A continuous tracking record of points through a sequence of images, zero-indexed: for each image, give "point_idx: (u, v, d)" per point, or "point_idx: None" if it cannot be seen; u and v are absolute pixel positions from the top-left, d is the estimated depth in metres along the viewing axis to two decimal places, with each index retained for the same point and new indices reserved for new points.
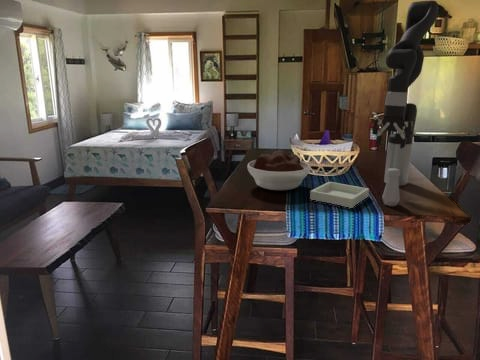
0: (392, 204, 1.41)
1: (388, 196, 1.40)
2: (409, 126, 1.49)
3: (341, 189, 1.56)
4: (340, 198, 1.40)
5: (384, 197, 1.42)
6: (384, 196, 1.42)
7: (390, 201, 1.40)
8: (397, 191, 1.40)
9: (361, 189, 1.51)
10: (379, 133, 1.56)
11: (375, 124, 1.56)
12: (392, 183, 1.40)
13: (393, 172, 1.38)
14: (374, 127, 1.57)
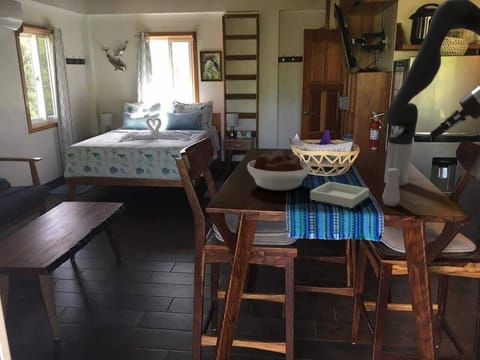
0: (392, 204, 1.41)
1: (388, 196, 1.40)
2: (464, 118, 1.29)
3: (341, 189, 1.56)
4: (340, 198, 1.40)
5: (384, 197, 1.42)
6: (384, 196, 1.42)
7: (390, 201, 1.40)
8: (397, 191, 1.40)
9: (361, 189, 1.51)
10: None
11: (456, 122, 1.20)
12: (392, 183, 1.40)
13: (393, 172, 1.38)
14: (453, 125, 1.20)
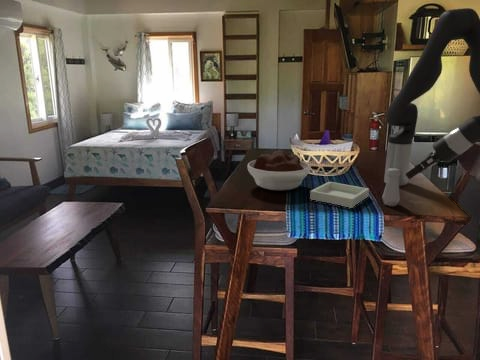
0: (392, 204, 1.41)
1: (388, 196, 1.40)
2: None
3: (341, 189, 1.56)
4: (340, 198, 1.40)
5: (384, 197, 1.42)
6: (384, 196, 1.42)
7: (390, 201, 1.40)
8: (397, 191, 1.40)
9: (361, 189, 1.51)
10: None
11: (429, 165, 1.27)
12: (392, 183, 1.40)
13: (393, 172, 1.38)
14: (426, 168, 1.28)
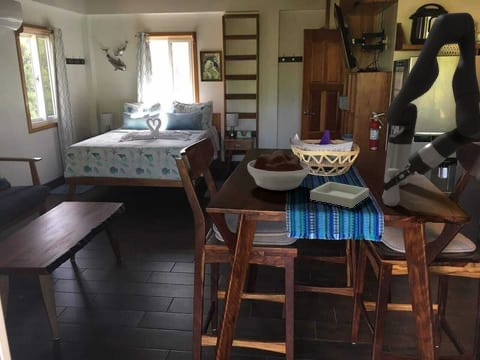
0: (392, 204, 1.41)
1: (388, 196, 1.40)
2: None
3: (341, 189, 1.56)
4: (340, 198, 1.40)
5: (384, 197, 1.42)
6: (384, 196, 1.42)
7: (390, 201, 1.40)
8: (397, 191, 1.40)
9: (361, 189, 1.51)
10: None
11: (402, 180, 1.34)
12: None
13: (393, 172, 1.38)
14: (399, 182, 1.35)
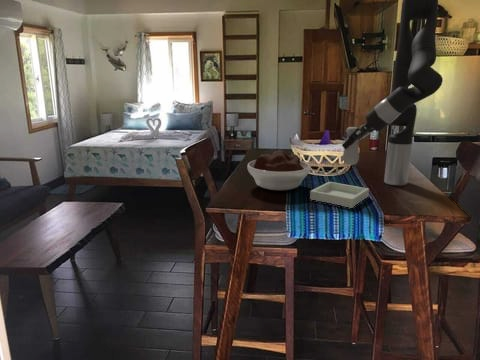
0: (351, 162, 1.42)
1: (348, 154, 1.42)
2: None
3: (341, 189, 1.56)
4: (340, 198, 1.40)
5: (344, 156, 1.43)
6: (344, 155, 1.43)
7: (349, 159, 1.42)
8: (356, 149, 1.41)
9: (361, 189, 1.51)
10: None
11: (359, 136, 1.35)
12: None
13: (352, 130, 1.40)
14: (357, 139, 1.36)
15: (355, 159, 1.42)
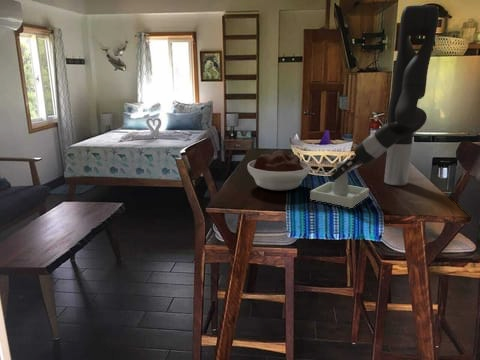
0: None
1: (338, 188, 1.46)
2: None
3: None
4: (340, 198, 1.40)
5: (334, 189, 1.48)
6: (334, 188, 1.48)
7: (339, 192, 1.46)
8: (346, 183, 1.46)
9: (361, 189, 1.51)
10: (344, 172, 1.41)
11: (349, 168, 1.38)
12: (341, 175, 1.45)
13: (342, 164, 1.44)
14: (346, 170, 1.38)
15: (345, 193, 1.46)
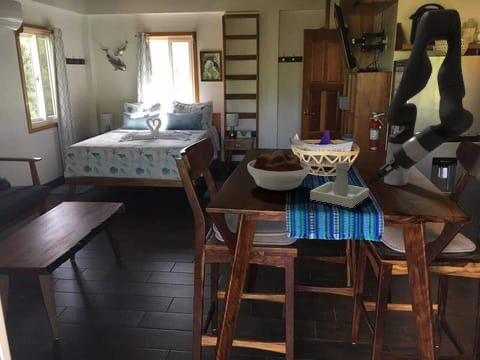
0: None
1: (338, 188, 1.46)
2: None
3: None
4: (340, 198, 1.40)
5: (334, 189, 1.48)
6: (334, 188, 1.48)
7: (339, 192, 1.46)
8: (346, 183, 1.46)
9: (361, 189, 1.51)
10: (382, 177, 1.34)
11: (388, 173, 1.30)
12: (341, 175, 1.45)
13: (342, 164, 1.44)
14: (385, 175, 1.31)
15: (345, 193, 1.46)
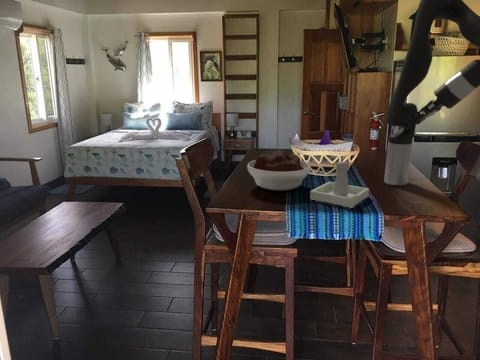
0: None
1: (338, 188, 1.46)
2: (440, 108, 1.35)
3: None
4: (340, 198, 1.40)
5: (334, 189, 1.48)
6: (334, 188, 1.48)
7: (339, 192, 1.46)
8: (346, 183, 1.46)
9: (361, 189, 1.51)
10: (423, 118, 1.29)
11: (430, 111, 1.25)
12: (341, 175, 1.45)
13: (342, 164, 1.44)
14: (427, 114, 1.26)
15: (345, 193, 1.46)
